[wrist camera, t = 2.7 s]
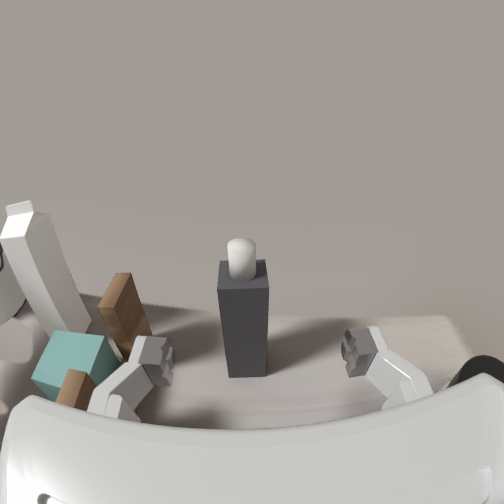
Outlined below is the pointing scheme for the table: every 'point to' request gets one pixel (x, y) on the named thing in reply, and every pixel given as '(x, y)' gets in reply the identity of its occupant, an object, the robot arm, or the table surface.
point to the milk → (42, 270)
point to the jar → (478, 370)
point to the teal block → (73, 360)
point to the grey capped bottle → (244, 309)
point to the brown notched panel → (121, 329)
